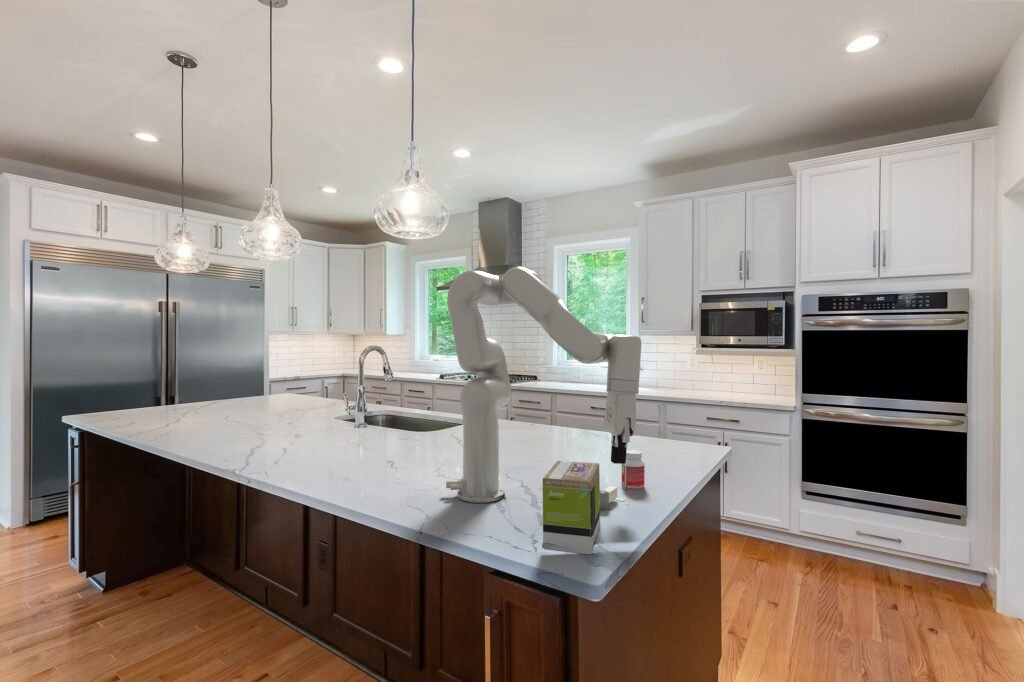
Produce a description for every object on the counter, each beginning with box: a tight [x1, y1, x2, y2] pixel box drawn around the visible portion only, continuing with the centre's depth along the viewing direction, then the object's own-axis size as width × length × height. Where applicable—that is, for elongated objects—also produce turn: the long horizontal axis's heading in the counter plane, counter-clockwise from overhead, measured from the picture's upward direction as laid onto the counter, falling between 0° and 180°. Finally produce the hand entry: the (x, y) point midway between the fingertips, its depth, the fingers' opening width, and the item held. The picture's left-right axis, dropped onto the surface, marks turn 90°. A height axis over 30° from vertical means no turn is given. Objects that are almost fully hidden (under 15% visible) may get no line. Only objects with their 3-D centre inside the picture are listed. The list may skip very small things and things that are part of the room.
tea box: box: [542, 460, 601, 556], centre depth 106 cm, size 15×10×15 cm, turn 163°
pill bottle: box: [621, 449, 646, 491], centre depth 139 cm, size 6×6×11 cm
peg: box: [600, 485, 618, 511], centre depth 123 cm, size 9×3×4 cm, turn 147°
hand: (618, 462), depth 120 cm, fingers closed
